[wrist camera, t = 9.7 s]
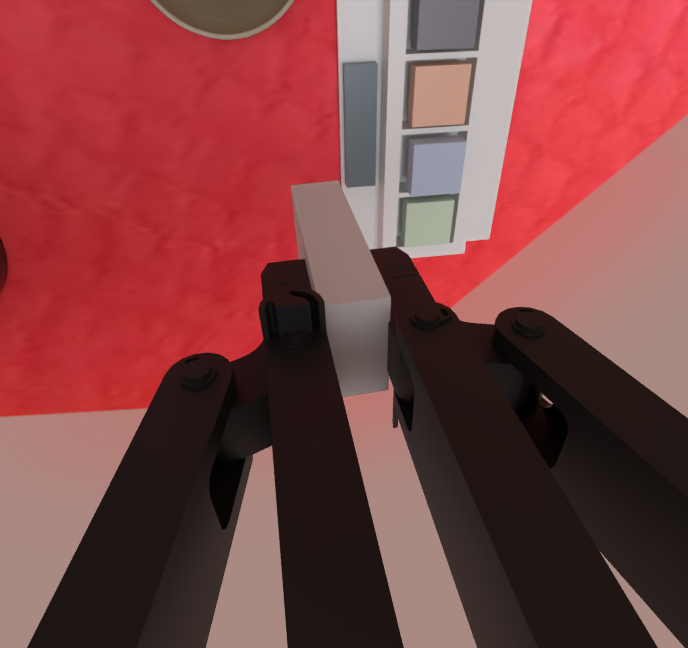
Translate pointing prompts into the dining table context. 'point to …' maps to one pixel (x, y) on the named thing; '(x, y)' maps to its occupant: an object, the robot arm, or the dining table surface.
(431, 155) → the key slate
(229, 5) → the flower pot
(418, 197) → the key sage
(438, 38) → the key charcoal
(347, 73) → the keypad
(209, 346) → the dining table surface
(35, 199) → the dining table surface
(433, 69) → the key terracotta
